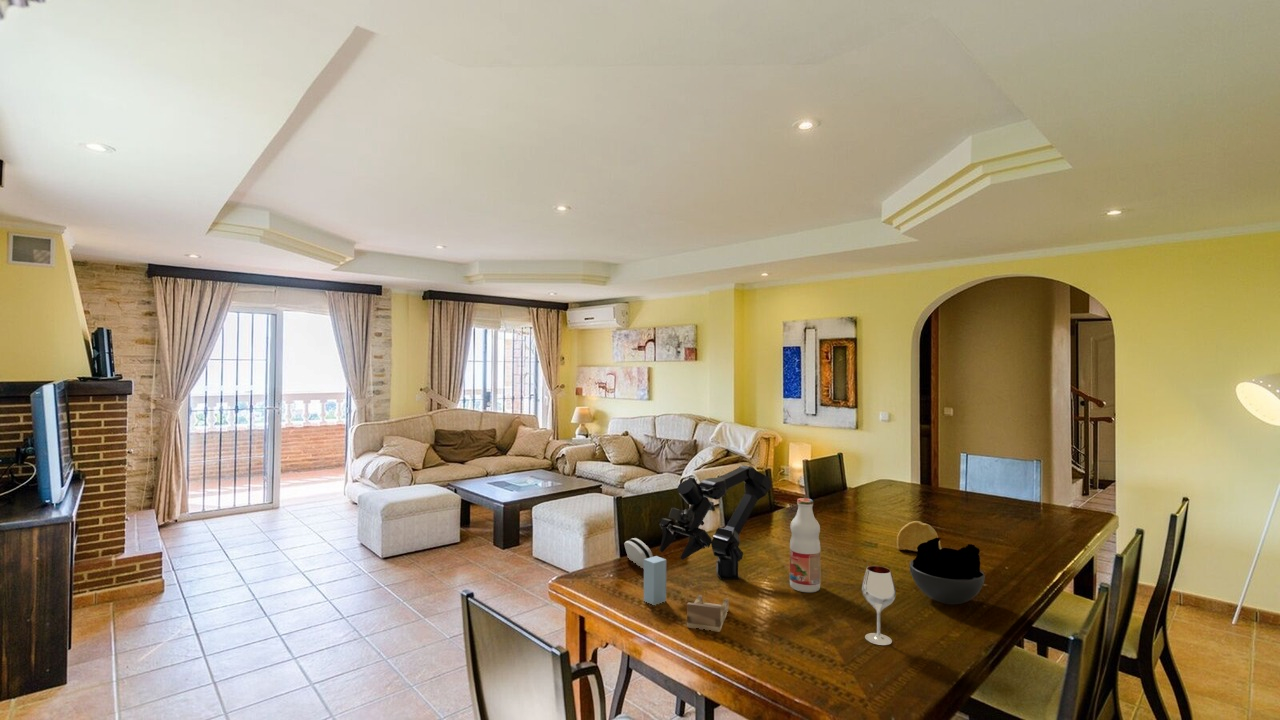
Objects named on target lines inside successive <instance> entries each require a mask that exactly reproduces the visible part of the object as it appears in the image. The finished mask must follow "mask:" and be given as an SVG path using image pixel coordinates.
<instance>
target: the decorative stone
mask: <svg viewBox="0 0 1280 720" xmlns="http://www.w3.org/2000/svg"><path fill="white" fill-rule="evenodd" d="M934 538H940V537H939V536H938V533H937V531H936V530H935V529H934V527H932V526H931V525H930V524H928V523H924V522H922V521H919V520H914V521H910V522H908V523H906V524H905V525H903V526H902V527H901V529H900V530H899V531H898V534H897V535H896V546H897V547H896V548H897V550H899V551H901V550H905V551H912V552H916V553H918V550H917V547H918V546H919V545H920V544H921V543H925V542H928V540H932V539H934ZM942 548H943V547H942V545H941V540H940V541H939V549H942Z"/></svg>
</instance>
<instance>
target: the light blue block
mask: <svg viewBox="0 0 1280 720" xmlns="http://www.w3.org/2000/svg"><path fill="white" fill-rule="evenodd" d="M644 601H645V603H646V602H647V603H646V604H648V603H650V604H652V605H655V606H657V605H656V604H658V605H660V604H659V603H661V604H663V603H662V602H664V603H666V602H667V559H666V558H664V557H660V556H658V555H655V556H654V555H653V557H651V558H647V559H644V569H643V602H644ZM665 601H666V602H665ZM650 604H649V605H650ZM652 605H651V606H652Z"/></svg>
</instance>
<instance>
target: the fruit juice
mask: <svg viewBox="0 0 1280 720" xmlns="http://www.w3.org/2000/svg"><path fill="white" fill-rule="evenodd" d="M796 500H797V501H796V504H797V512H796V513H795V516H794V517H793V519H792V521H790V532H791V537H790V541H789V586H790V587H791V589H793V590H795V591H797V592H802V593H816V592H818V591H819V590H821V541H820V539H819V536H820V532H821V527H820V524H819V522H818V520H817V518H815V516H814V511H813V506H814V500H813V499H811V498H806V497H804V498H803V497H800V498H797V499H796Z"/></svg>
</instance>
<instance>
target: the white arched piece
mask: <svg viewBox="0 0 1280 720" xmlns="http://www.w3.org/2000/svg"><path fill="white" fill-rule="evenodd" d="M623 545H624V548H625V552H626V554H627V555H626V556H627V558H629V559H628V560H630V561H631V562H632V561H633V563H634V564H635V563H636V564H635V565H637V566H638V567H639V566H640V567H639V568H641V569H642V568H643V570H644V559H647V558H651V557H654V555H653V552H652V551H651V549H650V548H649V546H648V545H646V543H644V542H643V541H642V540H641V539H639V538H637V537H634V538H633V537H632V538H630V539H629V540H626V541H625V542H624V543H623Z"/></svg>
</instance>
